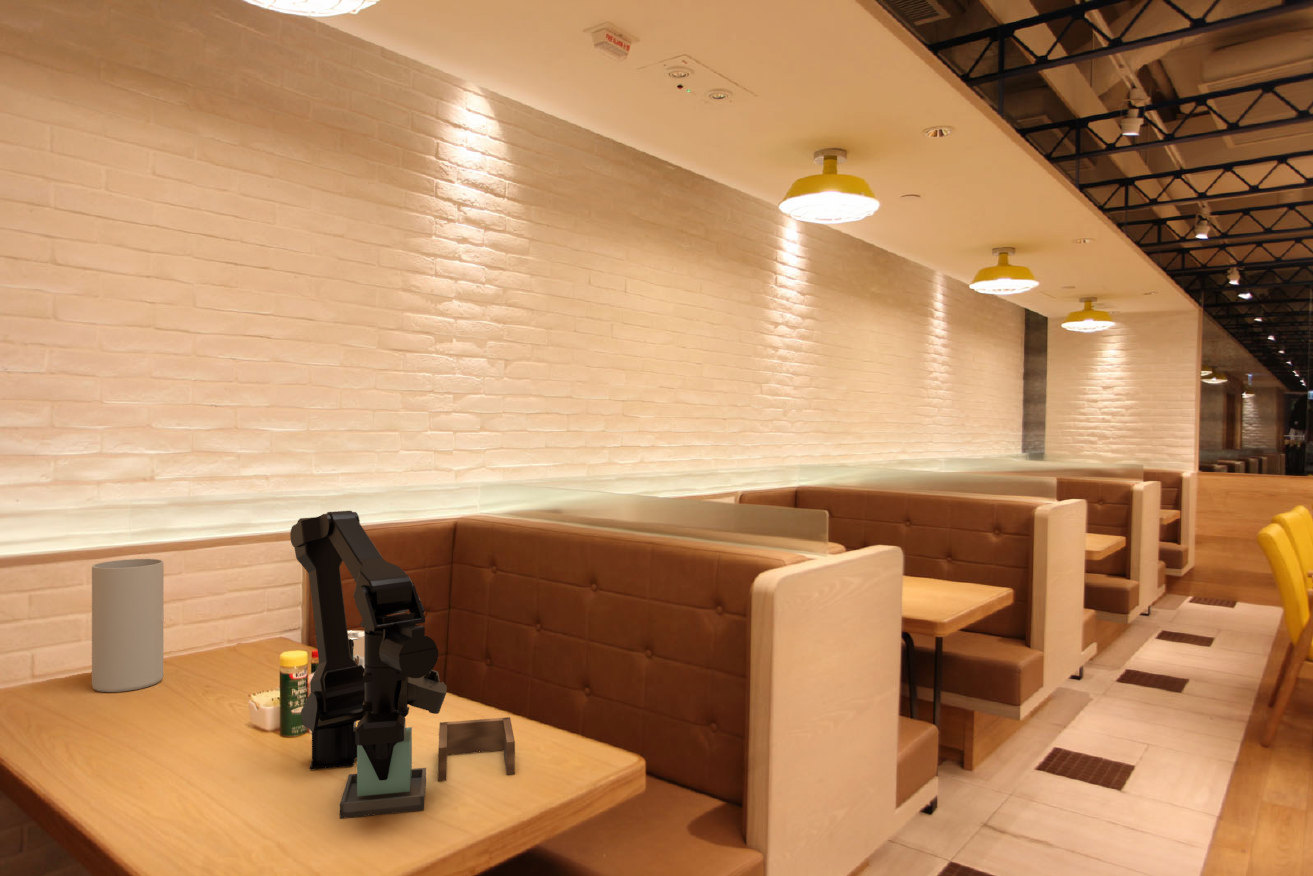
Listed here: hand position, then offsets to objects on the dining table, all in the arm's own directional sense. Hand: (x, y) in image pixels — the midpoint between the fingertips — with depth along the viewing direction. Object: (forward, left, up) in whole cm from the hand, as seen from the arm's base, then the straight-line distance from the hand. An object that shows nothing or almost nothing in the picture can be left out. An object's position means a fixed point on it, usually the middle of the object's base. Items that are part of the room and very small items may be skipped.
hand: (385, 771), depth 119 cm
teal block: (0, 0, -2) cm, 2 cm away
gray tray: (0, 0, -4) cm, 4 cm away
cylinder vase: (-56, +68, -4) cm, 88 cm away
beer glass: (-9, +38, -4) cm, 39 cm away
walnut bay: (+13, +10, -4) cm, 17 cm away
